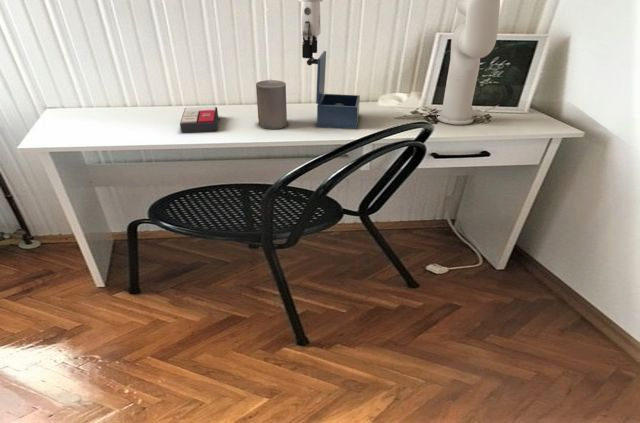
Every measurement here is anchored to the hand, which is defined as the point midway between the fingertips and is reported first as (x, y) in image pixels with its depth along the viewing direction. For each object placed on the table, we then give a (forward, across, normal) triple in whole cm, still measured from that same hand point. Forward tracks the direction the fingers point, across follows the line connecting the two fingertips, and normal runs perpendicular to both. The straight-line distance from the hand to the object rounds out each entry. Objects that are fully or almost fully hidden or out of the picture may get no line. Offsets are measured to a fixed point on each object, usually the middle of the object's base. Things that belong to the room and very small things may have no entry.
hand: (309, 55), depth 132 cm
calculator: (+22, -11, +35) cm, 43 cm away
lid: (+7, 0, -4) cm, 8 cm away
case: (+21, 0, -10) cm, 24 cm away
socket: (+20, 0, -10) cm, 23 cm away
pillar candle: (+22, -7, +11) cm, 26 cm away
